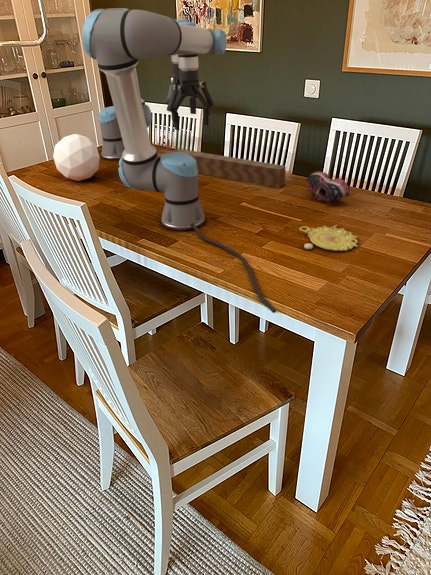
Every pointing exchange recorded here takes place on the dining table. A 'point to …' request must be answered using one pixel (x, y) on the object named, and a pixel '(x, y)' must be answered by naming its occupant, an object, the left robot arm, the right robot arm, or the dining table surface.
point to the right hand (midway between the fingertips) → (191, 127)
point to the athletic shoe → (327, 187)
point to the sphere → (76, 157)
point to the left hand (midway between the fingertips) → (184, 116)
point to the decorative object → (330, 238)
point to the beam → (239, 169)
